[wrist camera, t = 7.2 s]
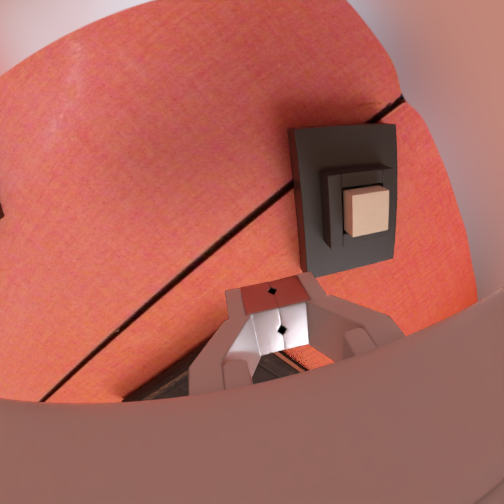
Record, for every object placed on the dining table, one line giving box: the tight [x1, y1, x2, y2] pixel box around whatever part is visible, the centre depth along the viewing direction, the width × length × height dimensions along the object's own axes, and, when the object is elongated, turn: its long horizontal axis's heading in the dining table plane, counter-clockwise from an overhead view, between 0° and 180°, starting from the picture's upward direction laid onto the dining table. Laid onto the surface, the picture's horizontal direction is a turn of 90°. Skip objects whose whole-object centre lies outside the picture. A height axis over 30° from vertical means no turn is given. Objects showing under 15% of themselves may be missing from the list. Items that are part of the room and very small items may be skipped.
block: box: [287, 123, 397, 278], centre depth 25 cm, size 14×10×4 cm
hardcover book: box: [122, 339, 308, 402], centre depth 35 cm, size 16×23×2 cm
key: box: [343, 185, 389, 237], centre depth 23 cm, size 4×4×2 cm
